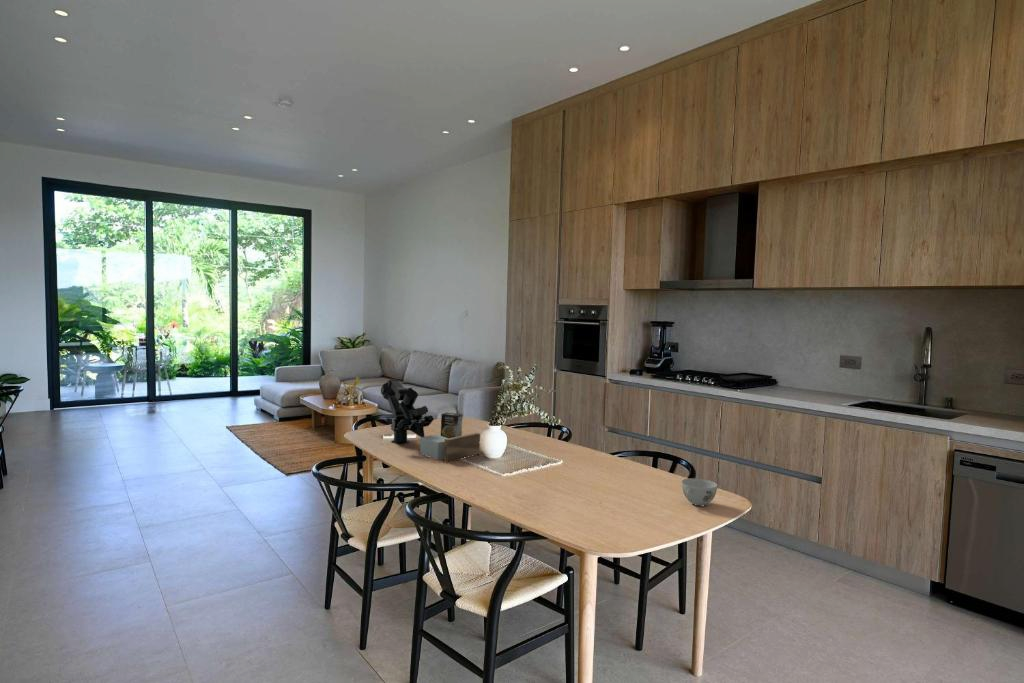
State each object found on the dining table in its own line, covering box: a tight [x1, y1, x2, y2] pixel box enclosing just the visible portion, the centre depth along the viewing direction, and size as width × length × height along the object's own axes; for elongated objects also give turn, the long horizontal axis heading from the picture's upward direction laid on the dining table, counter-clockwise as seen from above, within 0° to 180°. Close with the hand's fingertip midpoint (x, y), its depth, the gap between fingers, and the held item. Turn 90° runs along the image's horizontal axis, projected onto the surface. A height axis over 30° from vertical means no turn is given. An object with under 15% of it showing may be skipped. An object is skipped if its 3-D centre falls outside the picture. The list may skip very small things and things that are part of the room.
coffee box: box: [440, 411, 464, 438], centre depth 278 cm, size 9×6×16 cm
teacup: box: [681, 477, 718, 506], centre depth 205 cm, size 15×12×8 cm
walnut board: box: [443, 432, 481, 463], centre depth 256 cm, size 2×20×10 cm, turn 139°
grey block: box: [419, 434, 448, 460], centre depth 259 cm, size 13×9×8 cm
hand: (423, 437), depth 265 cm, fingers closed
